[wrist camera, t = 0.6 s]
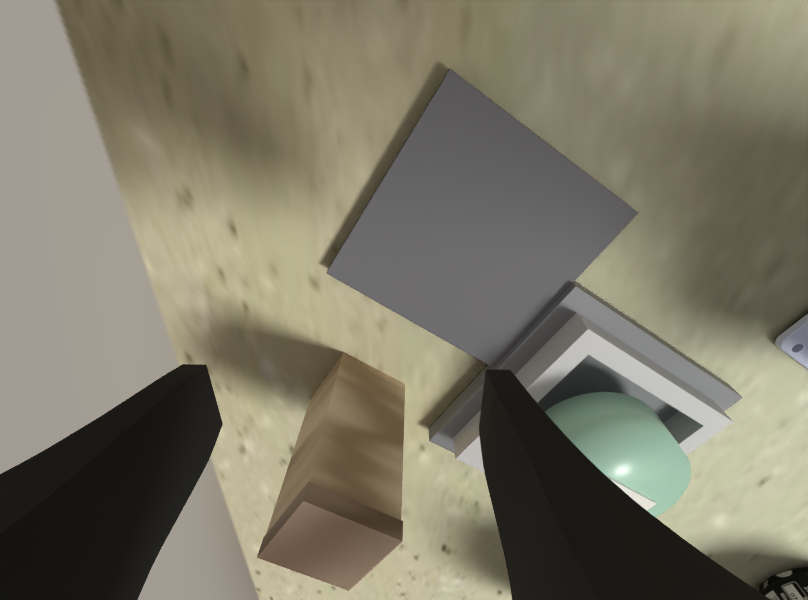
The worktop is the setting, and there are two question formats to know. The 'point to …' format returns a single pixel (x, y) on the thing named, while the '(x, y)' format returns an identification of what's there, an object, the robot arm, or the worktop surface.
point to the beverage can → (787, 585)
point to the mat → (477, 226)
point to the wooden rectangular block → (342, 479)
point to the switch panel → (595, 375)
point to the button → (626, 446)
